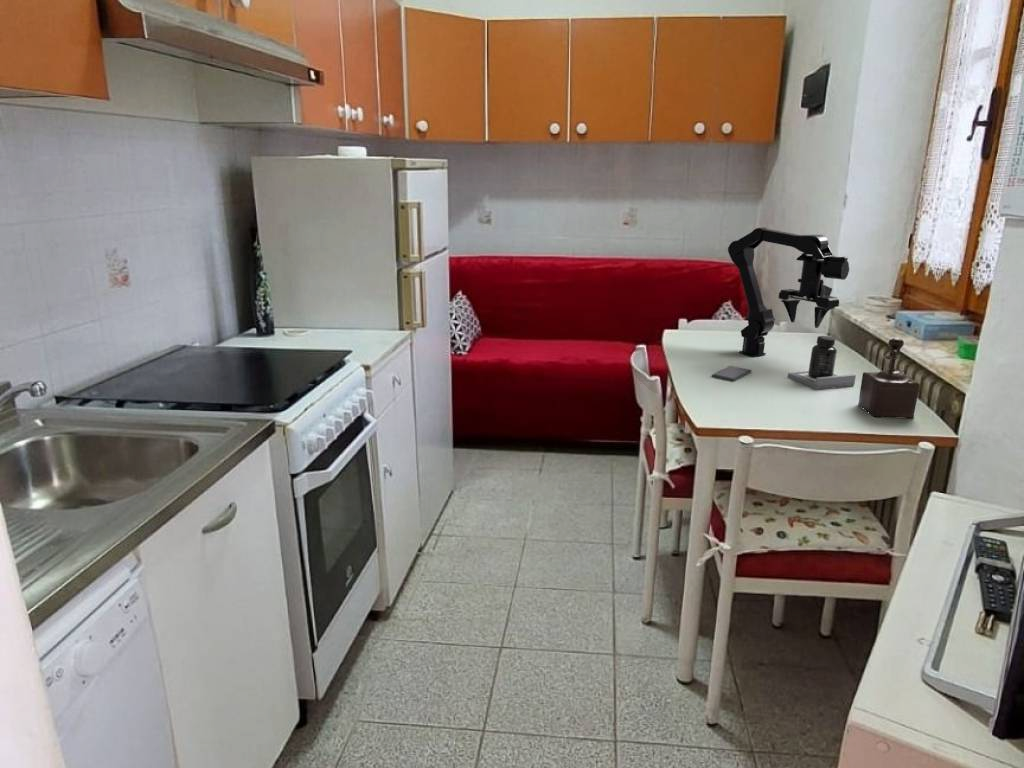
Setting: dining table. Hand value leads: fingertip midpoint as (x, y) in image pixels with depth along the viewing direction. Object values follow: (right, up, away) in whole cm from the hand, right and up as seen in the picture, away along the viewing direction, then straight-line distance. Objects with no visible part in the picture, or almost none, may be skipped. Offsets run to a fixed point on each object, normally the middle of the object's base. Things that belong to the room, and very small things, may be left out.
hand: (804, 324), depth 225 cm
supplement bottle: (-1, -17, -14) cm, 22 cm away
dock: (-1, -18, -14) cm, 23 cm away
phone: (-26, -16, -9) cm, 32 cm away
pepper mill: (+5, -26, -37) cm, 45 cm away
